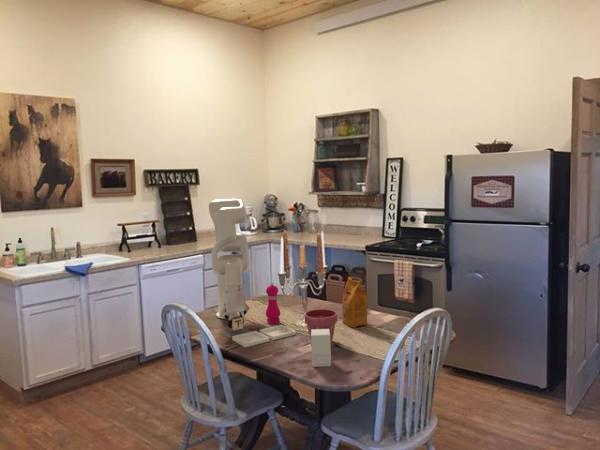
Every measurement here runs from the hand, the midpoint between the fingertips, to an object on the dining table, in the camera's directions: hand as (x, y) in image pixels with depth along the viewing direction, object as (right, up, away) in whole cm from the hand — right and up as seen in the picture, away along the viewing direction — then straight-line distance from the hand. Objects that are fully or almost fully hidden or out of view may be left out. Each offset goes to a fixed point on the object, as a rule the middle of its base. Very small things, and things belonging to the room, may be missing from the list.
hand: (235, 326), depth 238 cm
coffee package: (+56, -1, +9) cm, 56 cm away
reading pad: (0, -3, +1) cm, 3 cm away
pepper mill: (+17, -1, +15) cm, 23 cm away
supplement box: (+38, -7, -38) cm, 54 cm away
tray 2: (+20, -3, -3) cm, 20 cm away
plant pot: (+39, -4, -14) cm, 42 cm away
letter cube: (0, -1, 0) cm, 1 cm away
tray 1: (+8, -5, -11) cm, 14 cm away
